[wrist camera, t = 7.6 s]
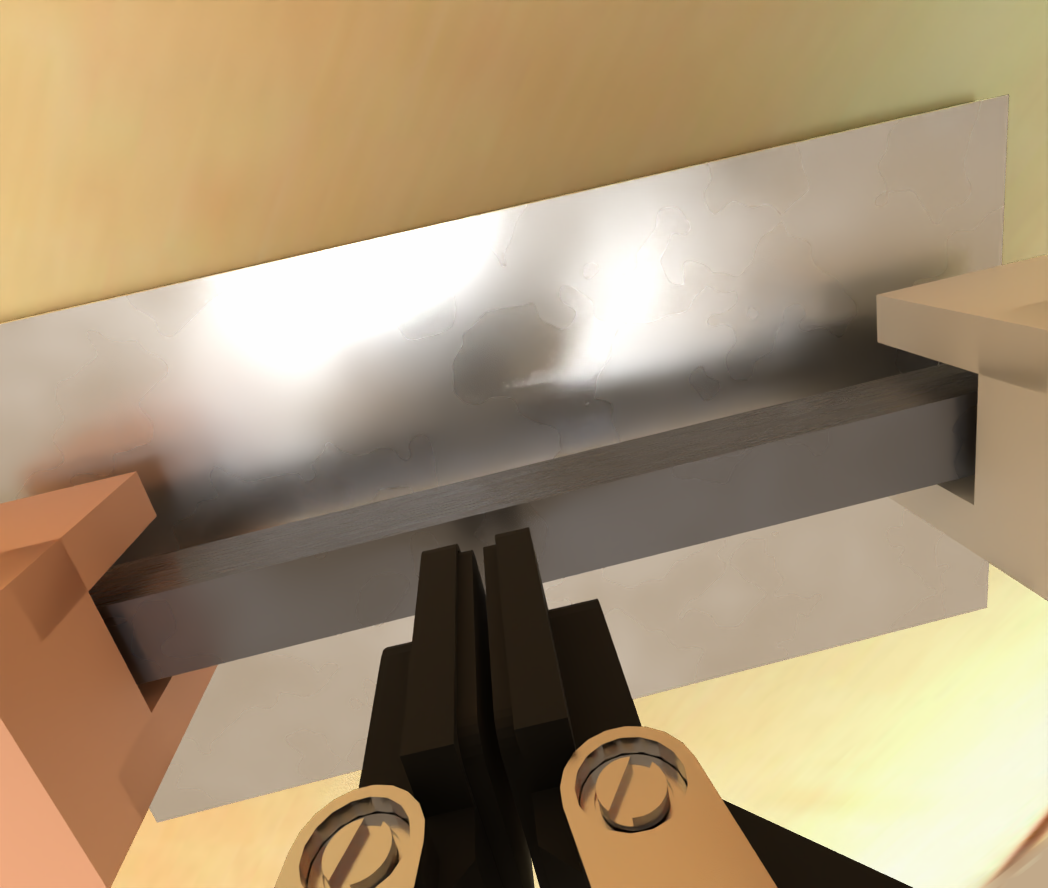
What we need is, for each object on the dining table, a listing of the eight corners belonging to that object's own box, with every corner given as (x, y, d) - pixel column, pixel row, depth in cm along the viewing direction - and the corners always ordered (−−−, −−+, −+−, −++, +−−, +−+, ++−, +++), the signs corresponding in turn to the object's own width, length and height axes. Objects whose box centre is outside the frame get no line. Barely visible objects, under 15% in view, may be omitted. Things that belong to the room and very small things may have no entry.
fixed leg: (1004, 251, 16) (1385, 283, 10) (995, 439, 18) (1315, 574, 11) (847, 288, 16) (1128, 346, 10) (854, 475, 18) (1096, 631, 11)
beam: (999, 315, 17) (1158, 347, 13) (996, 383, 18) (1147, 431, 14) (7, 555, 16) (-125, 662, 12) (42, 617, 17) (-74, 737, 13)
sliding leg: (152, 457, 15) (-52, 635, 9) (231, 636, 17) (108, 890, 11) (-25, 499, 15) (-359, 712, 9) (74, 675, 17) (-145, 957, 11)
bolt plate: (976, 100, 16) (1010, 94, 15) (962, 589, 21) (988, 608, 20) (-74, 339, 15) (-110, 349, 14) (170, 793, 20) (156, 824, 19)
